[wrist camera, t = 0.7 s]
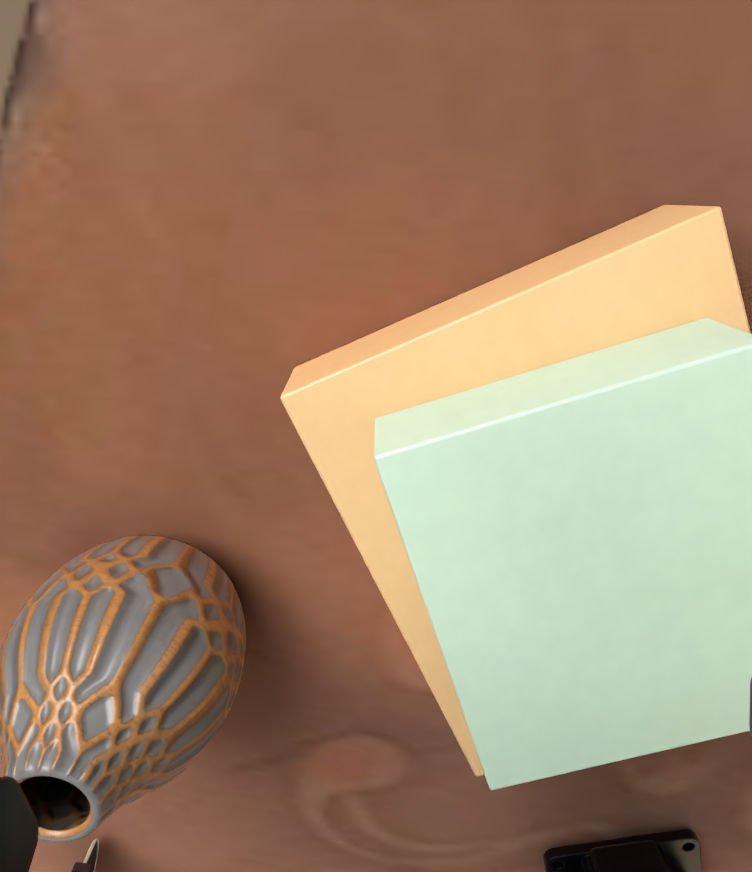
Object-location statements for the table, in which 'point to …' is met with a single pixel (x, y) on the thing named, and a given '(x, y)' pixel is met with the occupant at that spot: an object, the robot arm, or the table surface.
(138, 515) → the table surface
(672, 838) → the robot arm
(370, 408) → the box stack
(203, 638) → the vase
